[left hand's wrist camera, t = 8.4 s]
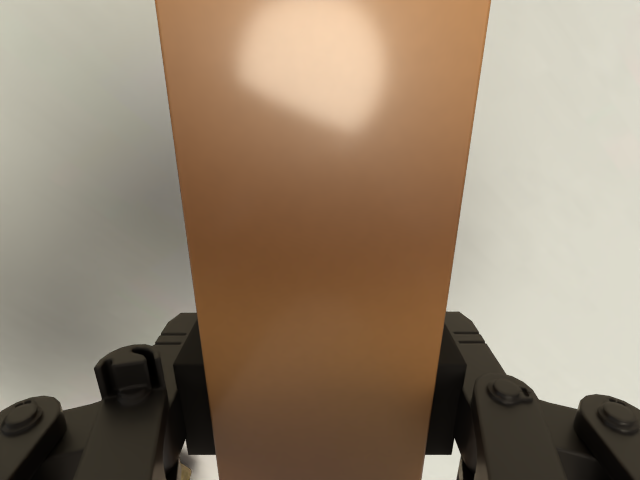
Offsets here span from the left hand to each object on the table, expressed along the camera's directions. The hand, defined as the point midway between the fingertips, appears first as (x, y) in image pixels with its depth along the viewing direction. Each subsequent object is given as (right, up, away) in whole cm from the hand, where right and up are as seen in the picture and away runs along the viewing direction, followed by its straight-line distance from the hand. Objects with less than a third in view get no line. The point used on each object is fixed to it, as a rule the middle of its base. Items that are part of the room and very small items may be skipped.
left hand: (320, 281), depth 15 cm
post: (0, +29, -11) cm, 31 cm away
